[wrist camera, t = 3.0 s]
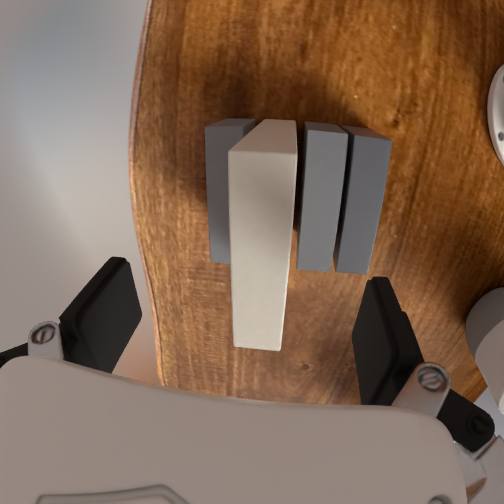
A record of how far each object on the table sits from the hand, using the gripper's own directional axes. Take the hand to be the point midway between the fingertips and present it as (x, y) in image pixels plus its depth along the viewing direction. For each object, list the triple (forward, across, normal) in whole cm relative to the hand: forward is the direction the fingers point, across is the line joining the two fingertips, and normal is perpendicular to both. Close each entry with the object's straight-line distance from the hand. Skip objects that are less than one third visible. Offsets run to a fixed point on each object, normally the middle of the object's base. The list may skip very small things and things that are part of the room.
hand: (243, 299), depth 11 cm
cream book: (+16, -1, 0) cm, 16 cm away
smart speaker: (+16, -29, +13) cm, 35 cm away
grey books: (+16, -2, 0) cm, 16 cm away
